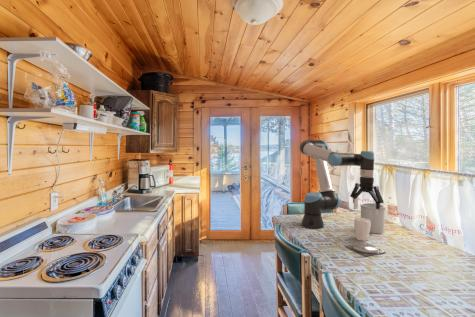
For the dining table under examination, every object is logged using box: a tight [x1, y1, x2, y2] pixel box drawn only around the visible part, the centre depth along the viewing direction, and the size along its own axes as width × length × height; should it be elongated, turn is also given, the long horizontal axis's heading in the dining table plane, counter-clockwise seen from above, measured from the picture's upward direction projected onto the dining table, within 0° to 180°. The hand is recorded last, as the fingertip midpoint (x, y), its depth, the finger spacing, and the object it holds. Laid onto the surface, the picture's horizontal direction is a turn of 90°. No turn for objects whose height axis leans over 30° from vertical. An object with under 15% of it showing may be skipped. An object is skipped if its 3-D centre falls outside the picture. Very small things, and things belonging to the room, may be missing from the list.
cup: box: [353, 217, 371, 242], centre depth 151 cm, size 9×9×12 cm
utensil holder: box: [360, 202, 386, 235], centre depth 167 cm, size 15×15×18 cm
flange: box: [344, 241, 387, 258], centre depth 135 cm, size 14×14×2 cm
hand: (365, 211), depth 149 cm, fingers open, 13 cm apart
